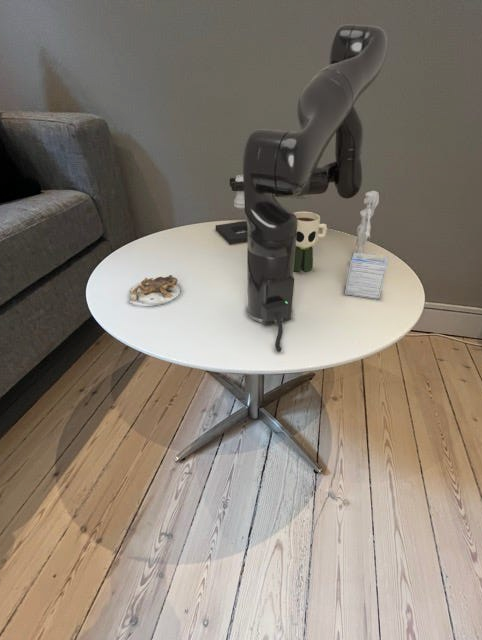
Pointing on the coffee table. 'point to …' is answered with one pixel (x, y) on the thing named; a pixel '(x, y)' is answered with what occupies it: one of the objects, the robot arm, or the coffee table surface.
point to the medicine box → (366, 275)
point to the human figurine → (366, 213)
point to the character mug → (307, 239)
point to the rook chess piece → (239, 196)
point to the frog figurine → (154, 291)
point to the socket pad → (233, 232)
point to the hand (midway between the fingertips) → (231, 184)
